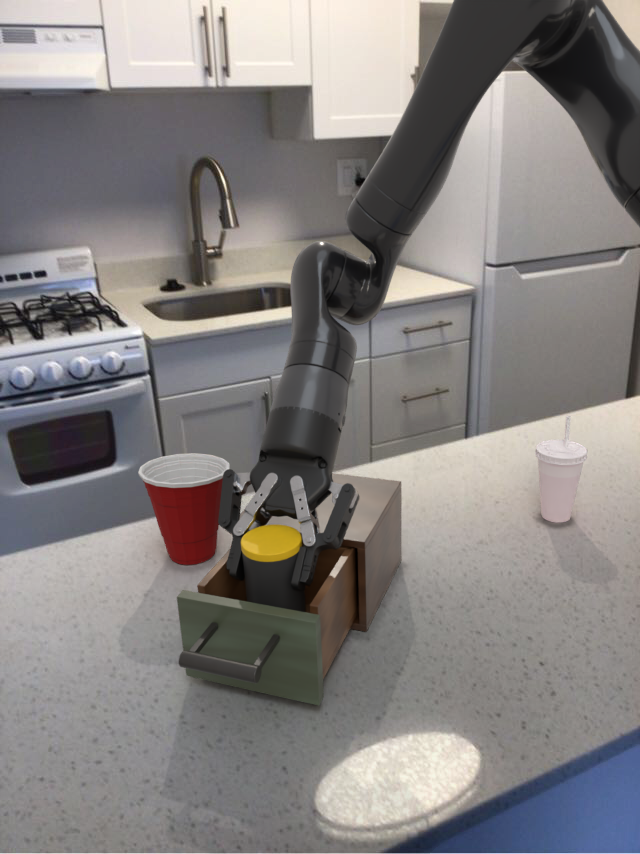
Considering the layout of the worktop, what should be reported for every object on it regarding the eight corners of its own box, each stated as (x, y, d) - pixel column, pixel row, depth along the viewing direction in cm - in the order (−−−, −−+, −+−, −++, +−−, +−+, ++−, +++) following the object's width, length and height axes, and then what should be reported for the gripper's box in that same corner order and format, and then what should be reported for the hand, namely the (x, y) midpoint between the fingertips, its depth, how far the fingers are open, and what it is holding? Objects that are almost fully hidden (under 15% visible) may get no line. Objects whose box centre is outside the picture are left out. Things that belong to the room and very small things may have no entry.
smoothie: (588, 526, 97) (598, 424, 92) (538, 528, 97) (545, 426, 92) (572, 503, 103) (581, 407, 98) (525, 505, 103) (531, 408, 98)
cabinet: (366, 632, 78) (365, 542, 74) (238, 608, 83) (231, 522, 79) (401, 560, 91) (401, 481, 87) (289, 543, 96) (284, 467, 92)
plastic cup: (253, 541, 97) (247, 454, 92) (204, 584, 88) (194, 490, 83) (184, 525, 101) (175, 442, 97) (131, 564, 92) (118, 474, 88)
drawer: (295, 752, 62) (290, 664, 59) (154, 717, 66) (141, 633, 63) (363, 618, 79) (362, 544, 76) (246, 597, 83) (240, 527, 80)
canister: (314, 599, 75) (310, 528, 72) (293, 633, 70) (287, 558, 67) (262, 590, 77) (256, 521, 74) (237, 623, 72) (230, 549, 69)
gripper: (228, 398, 76) (181, 562, 69) (366, 409, 71) (328, 586, 65) (254, 429, 82) (213, 581, 76) (382, 441, 77) (349, 605, 71)
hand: (266, 583), depth 70 cm, fingers closed on canister, 5 cm apart
